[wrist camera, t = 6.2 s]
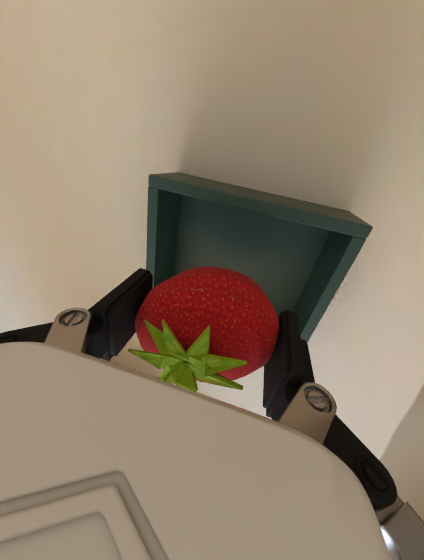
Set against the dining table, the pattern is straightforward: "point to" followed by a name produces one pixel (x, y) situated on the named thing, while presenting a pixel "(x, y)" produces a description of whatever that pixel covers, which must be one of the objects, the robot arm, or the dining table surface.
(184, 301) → the strawberry
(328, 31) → the dining table surface
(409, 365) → the dining table surface
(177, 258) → the open box
